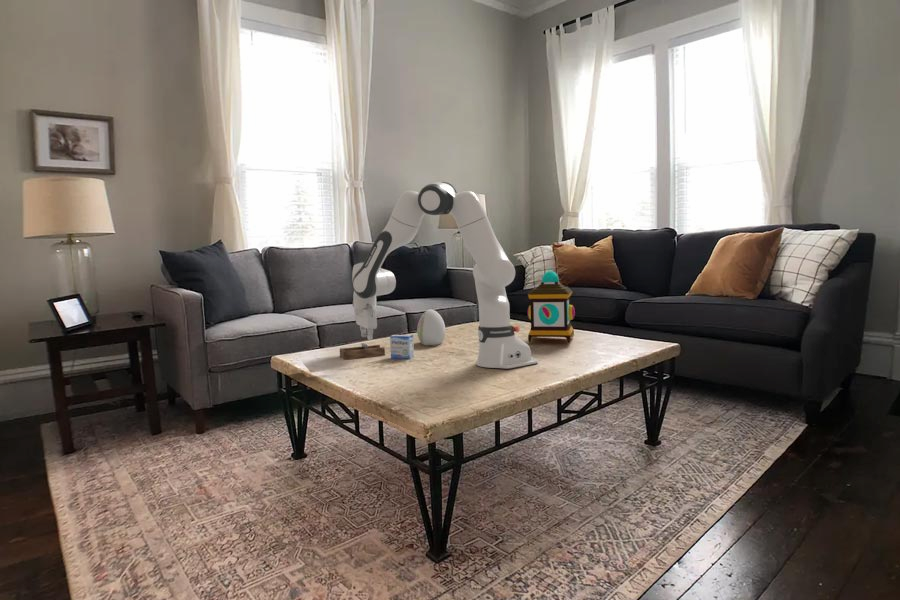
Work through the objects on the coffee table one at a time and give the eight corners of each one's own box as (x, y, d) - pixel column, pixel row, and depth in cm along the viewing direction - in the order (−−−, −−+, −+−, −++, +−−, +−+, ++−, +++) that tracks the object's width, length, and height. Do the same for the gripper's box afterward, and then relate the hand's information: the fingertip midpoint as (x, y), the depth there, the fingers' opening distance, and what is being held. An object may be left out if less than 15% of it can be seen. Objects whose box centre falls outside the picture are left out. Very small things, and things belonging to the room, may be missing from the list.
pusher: (364, 352, 217) (363, 343, 217) (367, 354, 212) (367, 344, 212) (361, 352, 216) (361, 343, 216) (365, 354, 211) (364, 345, 211)
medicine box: (390, 358, 205) (389, 336, 205) (395, 356, 210) (394, 334, 209) (410, 359, 203) (409, 336, 202) (414, 357, 207) (413, 334, 207)
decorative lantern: (577, 337, 241) (576, 268, 238) (573, 344, 222) (572, 270, 219) (531, 336, 247) (530, 270, 244) (524, 343, 228) (522, 272, 226)
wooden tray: (379, 352, 221) (379, 344, 220) (384, 355, 213) (384, 347, 213) (339, 356, 214) (339, 348, 214) (344, 359, 207) (343, 351, 207)
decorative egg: (424, 341, 244) (423, 308, 242) (450, 342, 239) (448, 308, 238) (413, 346, 232) (411, 311, 231) (440, 346, 228) (438, 311, 227)
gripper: (380, 304, 205) (381, 341, 206) (366, 301, 223) (368, 334, 225) (363, 305, 202) (365, 342, 203) (351, 302, 221) (353, 335, 222)
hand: (367, 338), depth 214 cm, fingers open, 8 cm apart
